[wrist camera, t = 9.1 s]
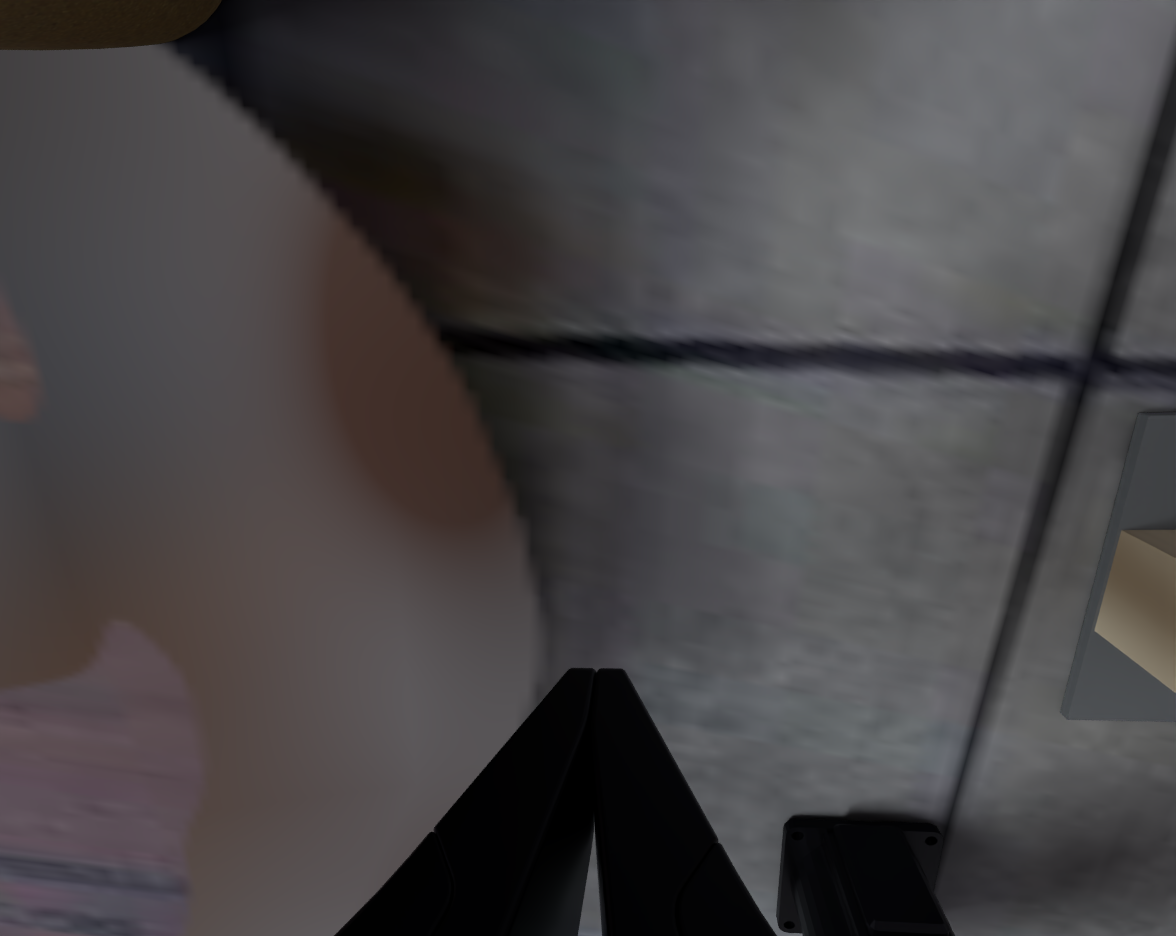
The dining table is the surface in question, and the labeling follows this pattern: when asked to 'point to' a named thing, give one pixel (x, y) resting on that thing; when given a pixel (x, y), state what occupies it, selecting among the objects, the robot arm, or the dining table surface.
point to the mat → (1144, 502)
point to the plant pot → (98, 22)
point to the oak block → (1143, 602)
